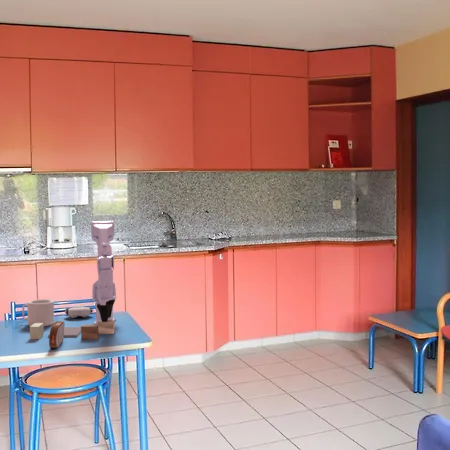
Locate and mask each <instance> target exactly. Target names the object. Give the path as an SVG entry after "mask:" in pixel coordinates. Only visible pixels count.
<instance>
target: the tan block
mask: <svg viewBox="0 0 450 450" xmlns="http://www.w3.org/2000/svg"><path fill="white" fill-rule="evenodd" d="M115 322H116V319H115V320H108V321H107V322H102V320H99V321H98V328H99V335H111V334H112V335H114V333H116V332H115V330H116V329H115V327H116V325H115Z"/></svg>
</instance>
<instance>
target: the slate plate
mask: <svg viewBox="0 0 450 450" xmlns="http://www.w3.org/2000/svg"><path fill="white" fill-rule="evenodd" d="M49 335H50V333H49V334H48V338H49ZM79 335H81V326H77V327H76V326H75V327H73V326H69V327H68V326H67V327H65V326H64V338H77V337H79Z"/></svg>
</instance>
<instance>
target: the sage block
mask: <svg viewBox="0 0 450 450" xmlns="http://www.w3.org/2000/svg"><path fill="white" fill-rule="evenodd" d="M44 327H45V326H43V323H34V324H33V325H31V326H29V340H40V339H41V338H42V337H44V336H43V335H45V331H44V330H45V328H44Z"/></svg>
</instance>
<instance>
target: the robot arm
mask: <svg viewBox="0 0 450 450" xmlns="http://www.w3.org/2000/svg"><path fill="white" fill-rule="evenodd" d="M90 231H91V233H90V234H91V240H92V242H95V244H96V246H97V247H96V248H97V250H96V251H97V258H96V269H97V275H98V279H97V280H95V281H94V282H93V283H92V289H91V291H92V292H91V293H92V295H91V296H92V297H91V298H92V301H93V302H94V303H95V321H94V322H93V324H98V321H99V320H102V322H107V321H108V320H115V321H116V318H114V304H115V302H116V299H117V295H116V294H117V292H116V291H117V289H116V284H115V282H114V269H115V258H114V255H113V253H112V252H113V249H112V245H110V242H112V241H113V240H114V238H115V237H114V236H115V221H114V220H101V221H100V220H99V221H95V220H92V221H91V222H90Z"/></svg>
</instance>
